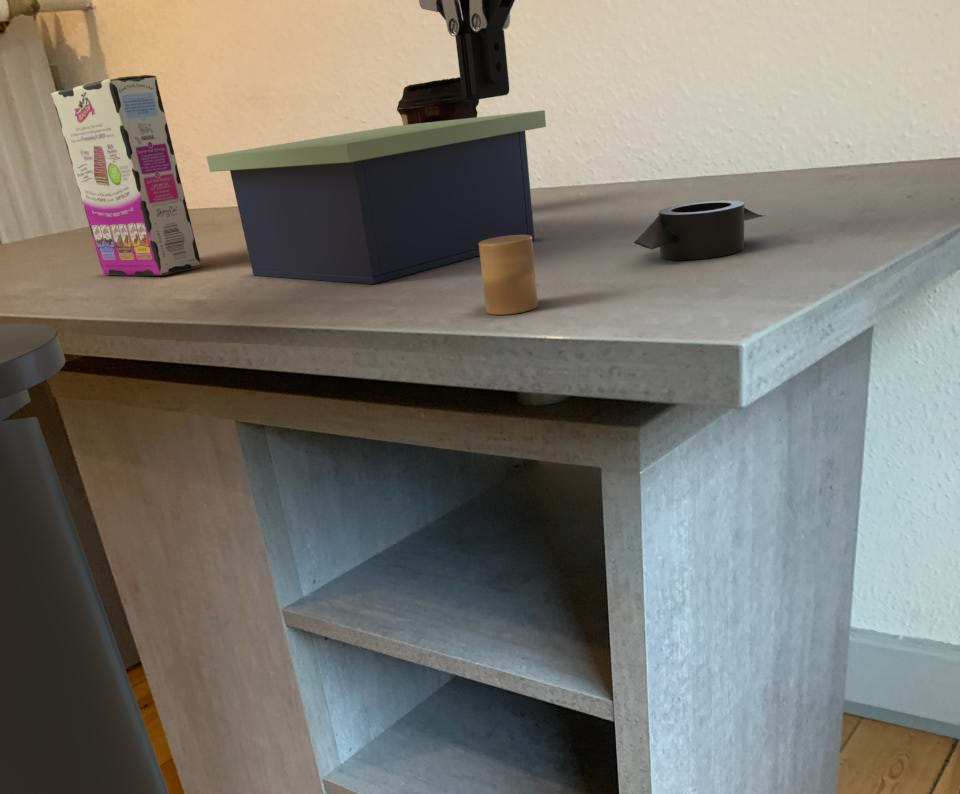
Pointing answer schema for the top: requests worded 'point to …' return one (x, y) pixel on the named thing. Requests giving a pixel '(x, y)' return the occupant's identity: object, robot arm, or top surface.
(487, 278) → the cylinder
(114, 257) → the candy bar box
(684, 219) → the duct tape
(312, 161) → the bin lid
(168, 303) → the top surface
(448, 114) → the dark brown block
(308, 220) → the bin
